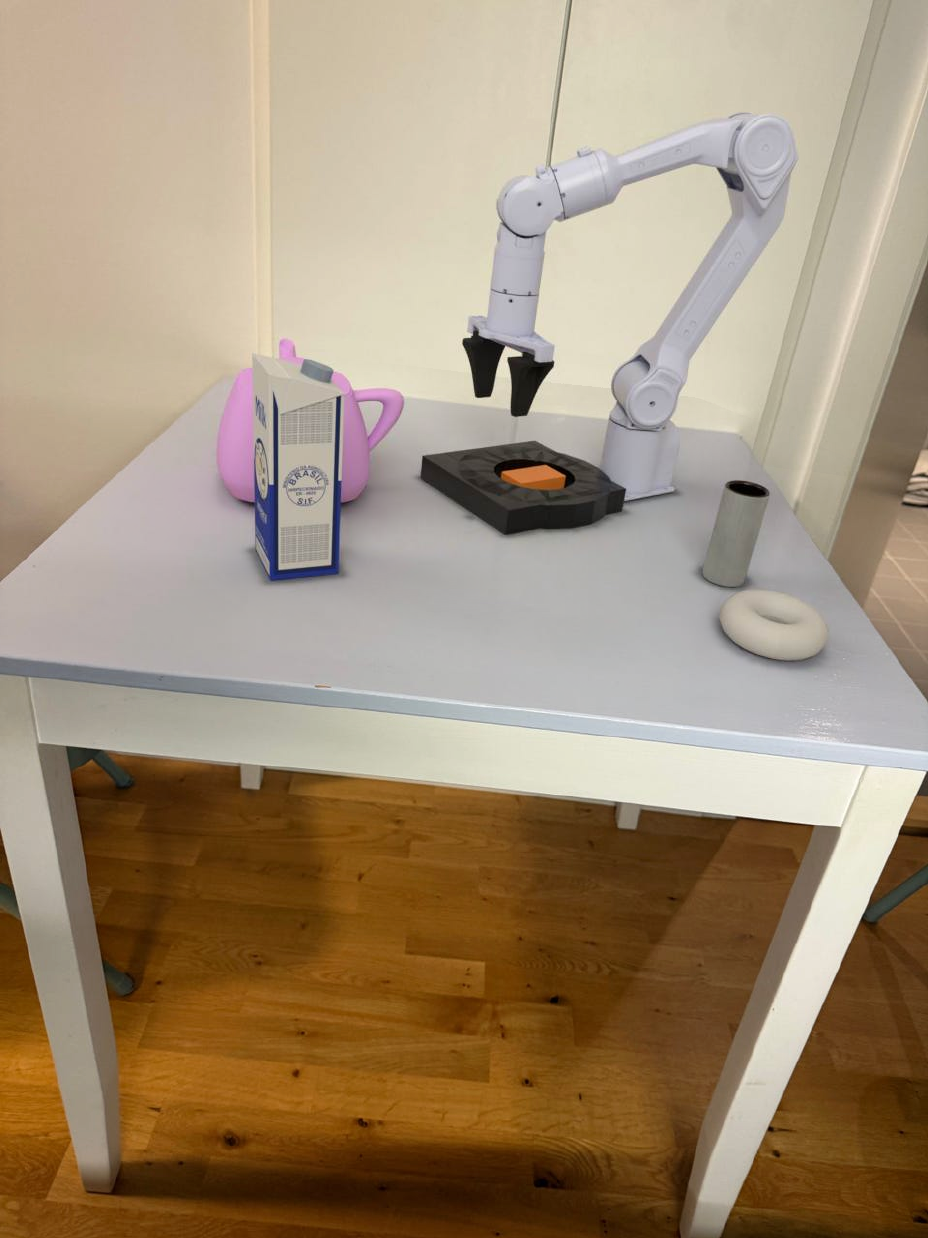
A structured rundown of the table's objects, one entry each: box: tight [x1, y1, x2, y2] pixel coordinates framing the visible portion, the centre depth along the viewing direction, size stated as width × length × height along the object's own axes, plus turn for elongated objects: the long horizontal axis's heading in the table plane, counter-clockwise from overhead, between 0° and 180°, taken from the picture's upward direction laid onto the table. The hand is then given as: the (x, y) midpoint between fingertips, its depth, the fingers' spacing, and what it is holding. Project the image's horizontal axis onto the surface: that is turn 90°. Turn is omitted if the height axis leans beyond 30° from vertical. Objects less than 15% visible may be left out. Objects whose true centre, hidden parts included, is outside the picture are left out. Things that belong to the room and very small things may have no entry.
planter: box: [701, 479, 771, 588], centre depth 94 cm, size 4×4×10 cm
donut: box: [719, 589, 829, 662], centre depth 85 cm, size 10×4×10 cm
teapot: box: [216, 338, 405, 504], centre depth 105 cm, size 23×21×15 cm
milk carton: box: [251, 353, 345, 582], centre depth 84 cm, size 7×7×20 cm
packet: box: [501, 465, 566, 490], centre depth 110 cm, size 7×4×3 cm, turn 124°
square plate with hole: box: [420, 440, 626, 536], centre depth 110 cm, size 20×20×3 cm
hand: (500, 405), depth 110 cm, fingers open, 7 cm apart
